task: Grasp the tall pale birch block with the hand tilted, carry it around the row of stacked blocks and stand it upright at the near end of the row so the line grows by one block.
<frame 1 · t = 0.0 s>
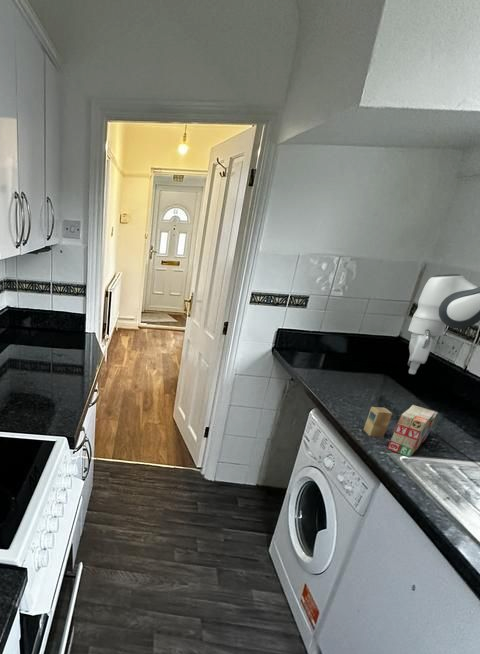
hand: (410, 369, 134), 22 cm above the counter, tool pointing down, fingers open, 8 cm apart
stack of blocks: (407, 443, 134), on the counter
birch block: (372, 434, 139), on the counter
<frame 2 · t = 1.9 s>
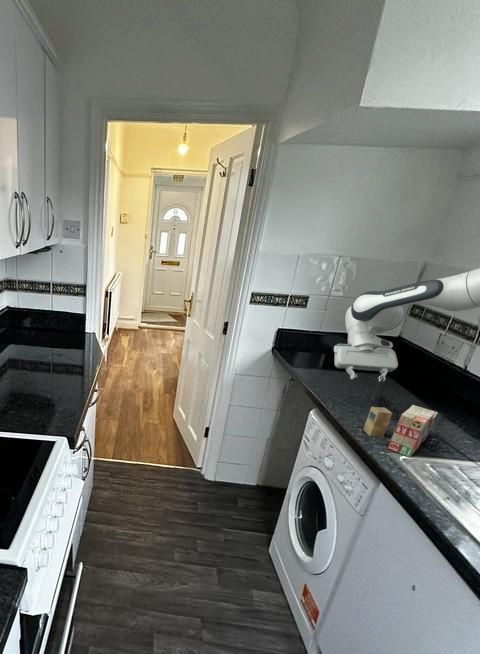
hand: (368, 380, 145), 15 cm above the counter, tool tilted 45°, fingers open, 8 cm apart
nothing on the counter moved.
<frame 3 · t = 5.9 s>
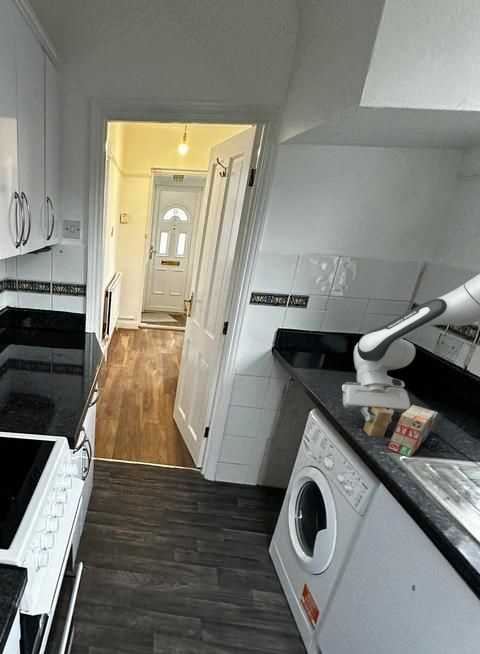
hand: (378, 422, 137), 5 cm above the counter, tool tilted 45°, fingers closed on birch block, 4 cm apart
birch block: (372, 434, 139), on the counter, touching gripper
everything else where it was.
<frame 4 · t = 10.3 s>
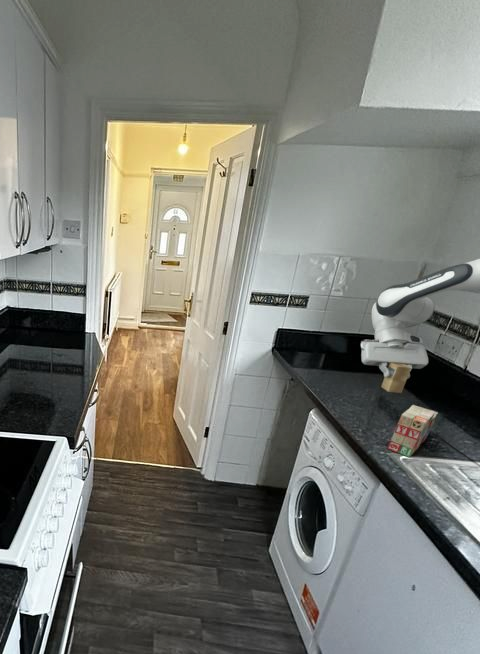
hand: (397, 377, 139), 18 cm above the counter, tool tilted 45°, fingers closed on birch block, 4 cm apart
birch block: (391, 389, 141), point 13 cm above the counter, touching gripper
everything else where it was.
when the fingers open (5 cm above the counter, at t = 14.5 s): birch block stays where it is, on the counter.
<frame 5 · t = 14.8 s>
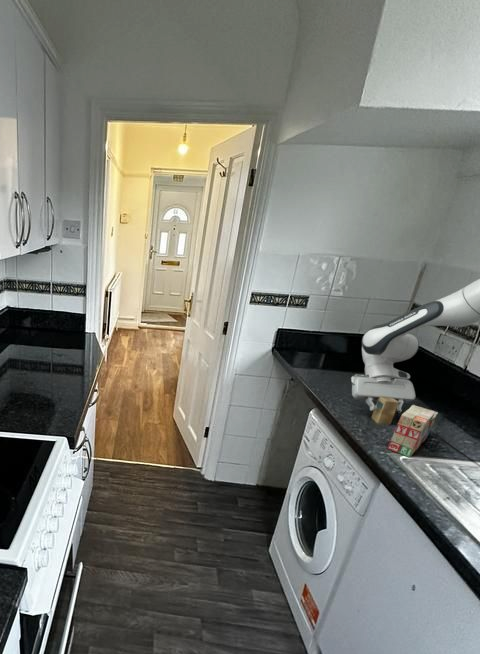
hand: (385, 411, 146), 5 cm above the counter, tool tilted 45°, fingers open, 7 cm apart
birch block: (380, 422, 149), on the counter
everything else where it was.
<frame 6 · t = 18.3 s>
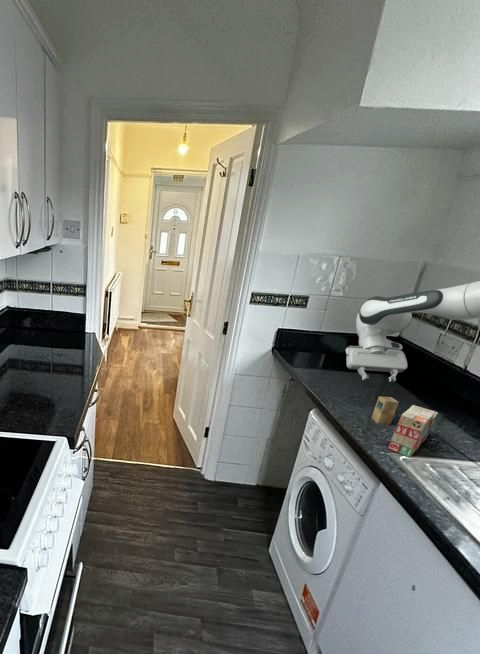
hand: (379, 380, 151), 13 cm above the counter, tool tilted 45°, fingers open, 8 cm apart
nothing on the counter moved.
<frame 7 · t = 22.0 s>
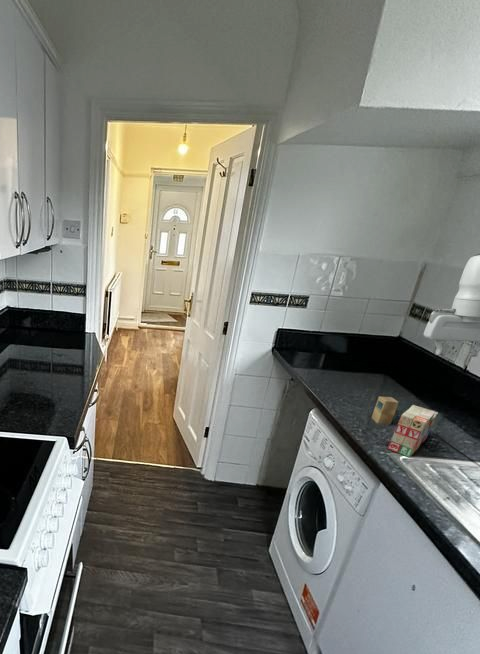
hand: (455, 355, 127), 29 cm above the counter, tool pointing down, fingers open, 8 cm apart
nothing on the counter moved.
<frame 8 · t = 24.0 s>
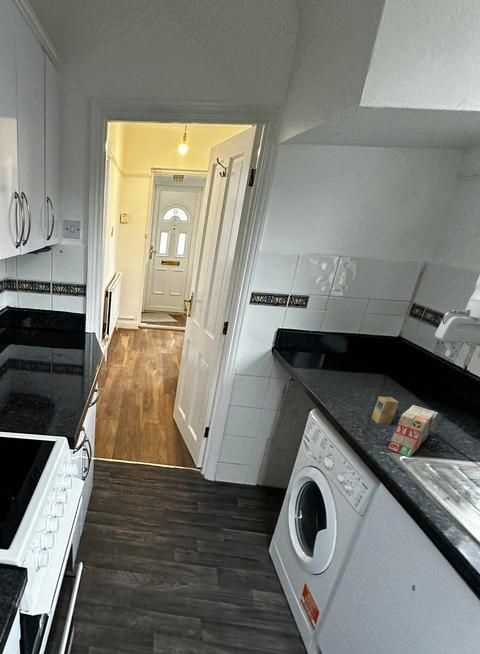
hand: (465, 357, 125), 29 cm above the counter, tool pointing down, fingers open, 8 cm apart
nothing on the counter moved.
at the end: birch block 0.1 cm from the target spot, on the counter; birch block tilted 0°; the gripper is holding nothing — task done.
